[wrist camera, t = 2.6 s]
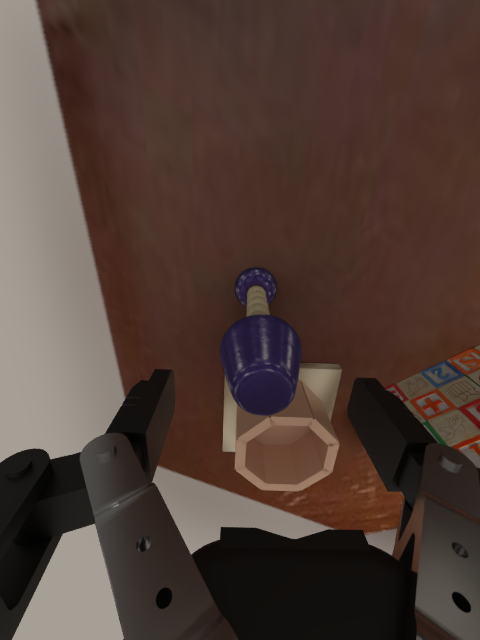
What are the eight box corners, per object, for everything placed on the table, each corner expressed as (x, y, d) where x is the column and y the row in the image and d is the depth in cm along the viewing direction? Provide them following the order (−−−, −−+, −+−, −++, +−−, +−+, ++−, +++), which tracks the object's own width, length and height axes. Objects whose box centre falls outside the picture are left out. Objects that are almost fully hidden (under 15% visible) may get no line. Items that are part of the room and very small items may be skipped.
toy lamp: (255, 318, 29) (273, 446, 13) (220, 293, 28) (194, 401, 12) (284, 283, 27) (343, 381, 12) (248, 255, 26) (259, 324, 11)
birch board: (338, 364, 31) (342, 369, 30) (320, 447, 36) (322, 454, 35) (225, 359, 31) (225, 365, 29) (223, 443, 36) (222, 451, 34)
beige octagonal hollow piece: (326, 380, 30) (345, 419, 25) (313, 446, 34) (327, 492, 28) (238, 377, 30) (237, 415, 24) (234, 443, 34) (233, 489, 28)
